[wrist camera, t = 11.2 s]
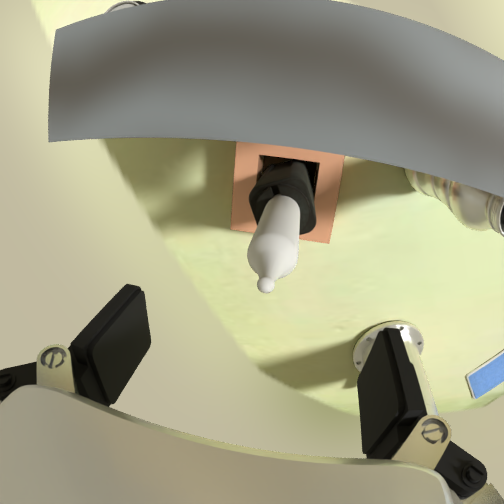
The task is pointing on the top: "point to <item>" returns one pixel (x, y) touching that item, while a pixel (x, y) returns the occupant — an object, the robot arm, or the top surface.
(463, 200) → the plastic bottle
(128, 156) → the top surface
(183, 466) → the robot arm
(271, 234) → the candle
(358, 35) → the brown board grey top
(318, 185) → the socket block
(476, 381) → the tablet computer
